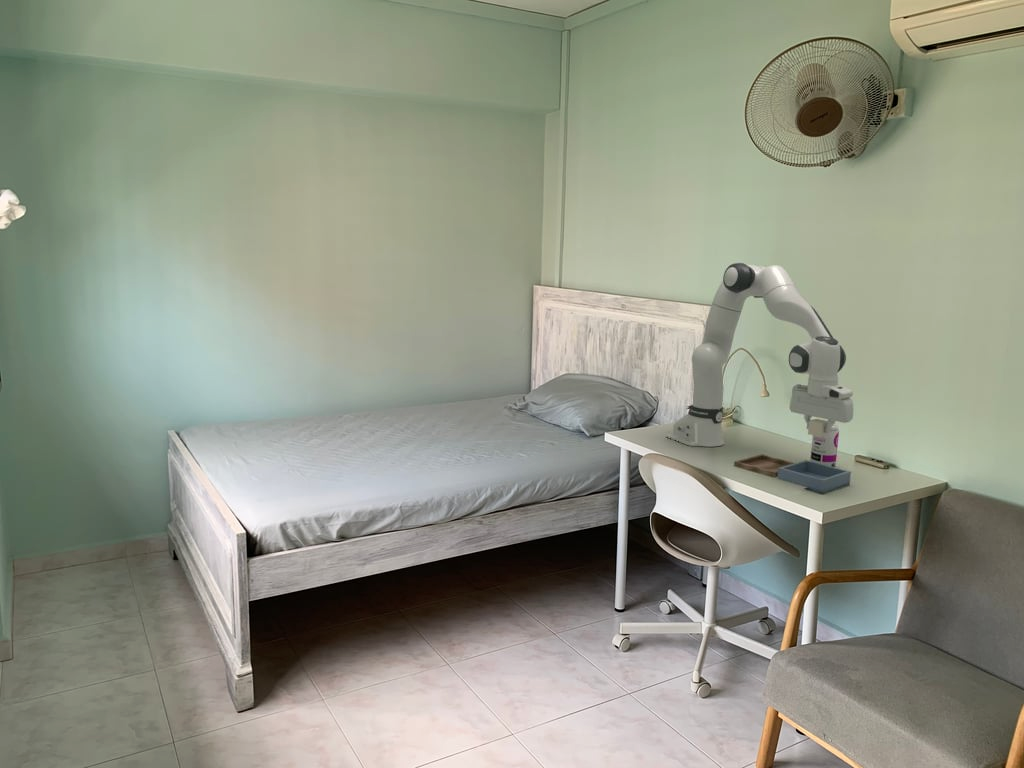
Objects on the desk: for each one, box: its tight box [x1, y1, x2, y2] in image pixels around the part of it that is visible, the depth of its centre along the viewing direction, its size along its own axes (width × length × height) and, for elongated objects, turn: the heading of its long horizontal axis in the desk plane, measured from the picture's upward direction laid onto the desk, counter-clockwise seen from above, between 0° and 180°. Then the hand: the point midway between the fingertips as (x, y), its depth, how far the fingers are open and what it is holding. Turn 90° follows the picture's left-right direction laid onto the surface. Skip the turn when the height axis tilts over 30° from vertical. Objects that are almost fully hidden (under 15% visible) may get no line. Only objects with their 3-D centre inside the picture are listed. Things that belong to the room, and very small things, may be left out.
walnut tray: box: [733, 454, 795, 479], centre depth 270 cm, size 16×16×2 cm
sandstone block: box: [807, 418, 829, 437], centre depth 254 cm, size 4×4×4 cm
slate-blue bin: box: [776, 459, 852, 495], centre depth 257 cm, size 16×16×4 cm
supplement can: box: [809, 424, 840, 468], centre depth 273 cm, size 8×8×15 cm
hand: (818, 430), depth 254 cm, fingers closed on sandstone block, 4 cm apart
